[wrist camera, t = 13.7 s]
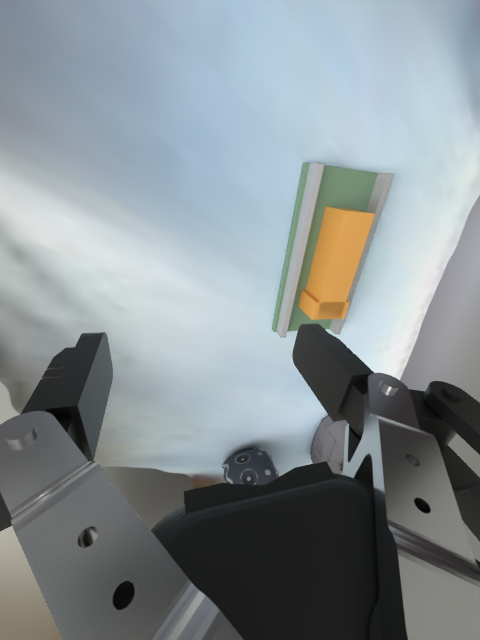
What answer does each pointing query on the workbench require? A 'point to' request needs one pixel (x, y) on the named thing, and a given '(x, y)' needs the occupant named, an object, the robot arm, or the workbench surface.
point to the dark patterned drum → (250, 468)
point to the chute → (335, 262)
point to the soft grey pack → (330, 444)
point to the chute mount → (312, 198)
